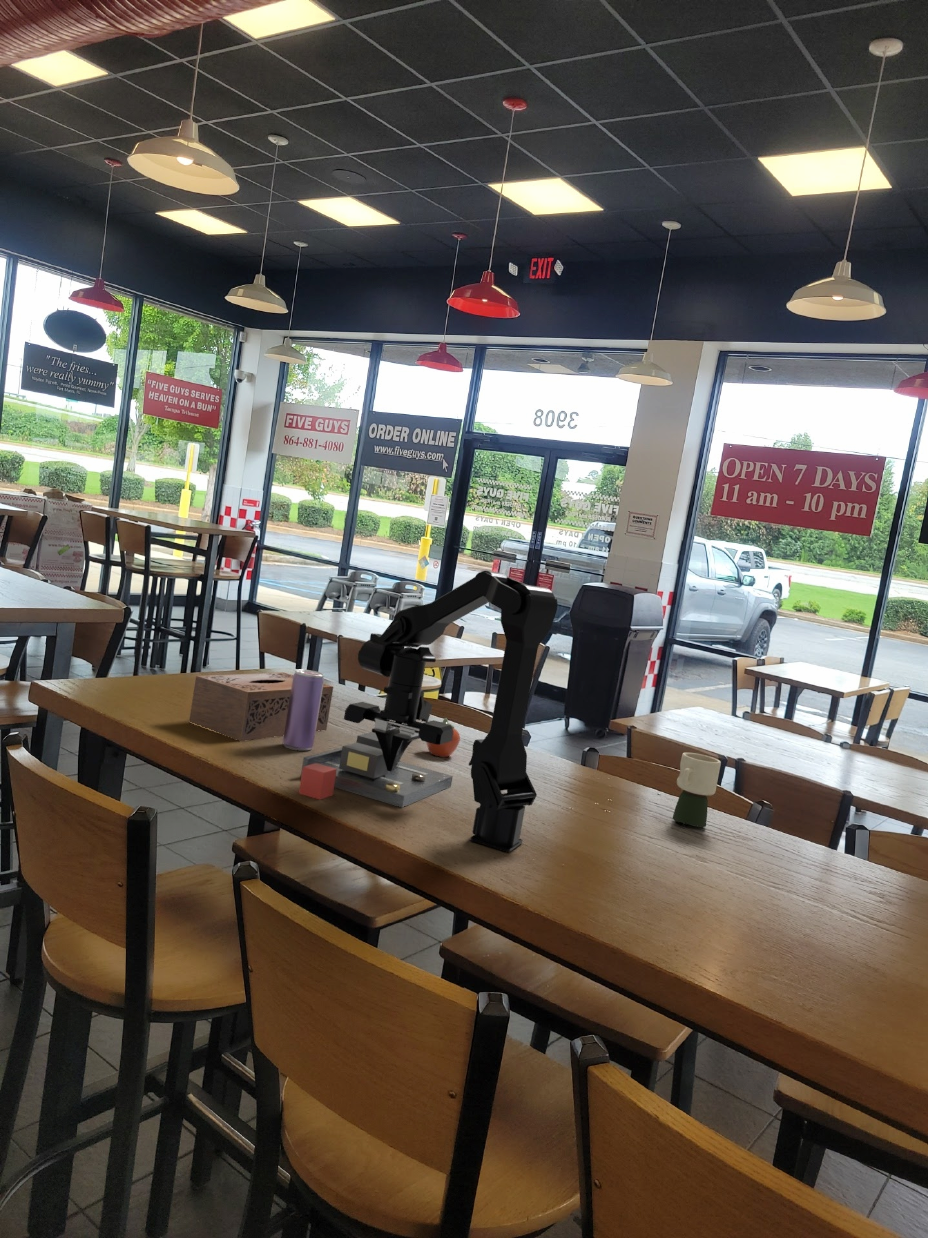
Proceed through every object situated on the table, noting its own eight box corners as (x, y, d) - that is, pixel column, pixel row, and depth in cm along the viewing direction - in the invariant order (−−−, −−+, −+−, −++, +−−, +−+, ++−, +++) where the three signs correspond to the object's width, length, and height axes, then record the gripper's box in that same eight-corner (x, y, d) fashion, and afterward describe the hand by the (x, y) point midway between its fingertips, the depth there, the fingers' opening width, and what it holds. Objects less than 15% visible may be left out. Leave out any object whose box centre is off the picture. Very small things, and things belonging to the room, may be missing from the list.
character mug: (685, 815, 174) (697, 750, 173) (719, 827, 169) (732, 761, 168) (657, 822, 165) (670, 753, 164) (692, 834, 161) (705, 764, 160)
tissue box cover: (277, 715, 201) (283, 672, 200) (326, 731, 194) (333, 686, 193) (188, 724, 179) (196, 675, 178) (240, 742, 172) (248, 692, 171)
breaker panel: (450, 786, 165) (454, 768, 165) (402, 807, 147) (405, 787, 147) (357, 760, 173) (360, 742, 173) (300, 777, 154) (303, 757, 154)
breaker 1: (387, 774, 157) (391, 752, 157) (373, 779, 153) (376, 756, 152) (353, 764, 160) (356, 742, 160) (338, 768, 155) (341, 746, 155)
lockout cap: (332, 795, 147) (336, 769, 147) (319, 800, 144) (323, 772, 143) (312, 789, 149) (316, 763, 148) (298, 793, 145) (303, 766, 145)
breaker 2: (399, 761, 168) (402, 741, 167) (387, 765, 163) (390, 744, 163) (367, 752, 170) (370, 732, 170) (354, 756, 166) (357, 735, 165)
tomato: (450, 751, 194) (456, 715, 193) (461, 761, 187) (467, 724, 186) (418, 748, 191) (424, 712, 191) (427, 758, 184) (434, 720, 184)
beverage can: (306, 753, 171) (318, 676, 170) (277, 747, 172) (289, 671, 171) (317, 747, 177) (329, 673, 176) (289, 741, 178) (300, 668, 177)
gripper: (472, 691, 157) (457, 777, 158) (380, 669, 164) (366, 751, 165) (446, 696, 147) (430, 788, 148) (349, 672, 154) (335, 760, 155)
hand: (390, 771), depth 154 cm, fingers closed
